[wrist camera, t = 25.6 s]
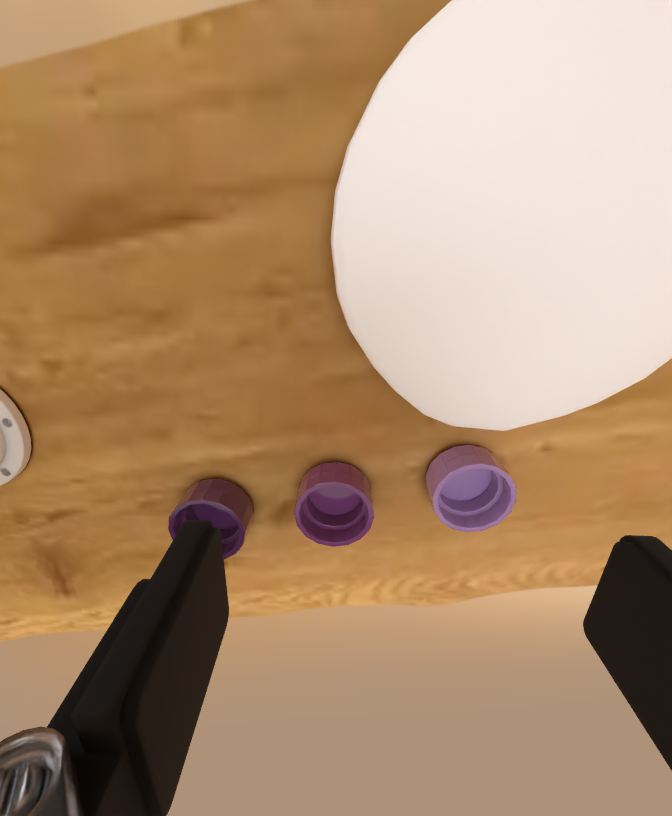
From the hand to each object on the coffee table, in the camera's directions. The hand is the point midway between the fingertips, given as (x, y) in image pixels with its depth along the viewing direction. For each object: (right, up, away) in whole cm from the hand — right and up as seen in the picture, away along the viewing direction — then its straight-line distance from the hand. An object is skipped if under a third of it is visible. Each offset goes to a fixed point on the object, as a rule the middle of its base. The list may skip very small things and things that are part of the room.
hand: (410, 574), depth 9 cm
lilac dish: (+10, -2, +26) cm, 28 cm away
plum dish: (-2, -4, +27) cm, 28 cm away
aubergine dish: (-13, -6, +28) cm, 32 cm away
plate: (+12, +17, +18) cm, 27 cm away
